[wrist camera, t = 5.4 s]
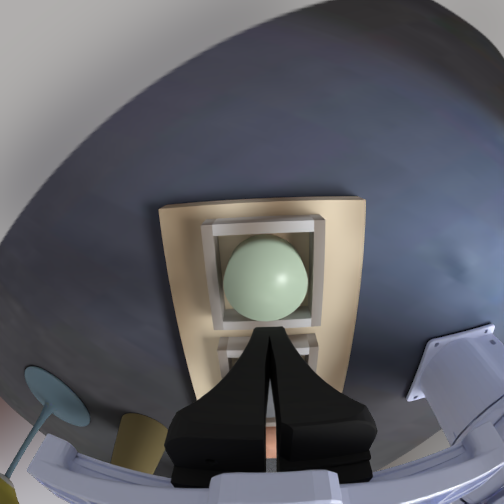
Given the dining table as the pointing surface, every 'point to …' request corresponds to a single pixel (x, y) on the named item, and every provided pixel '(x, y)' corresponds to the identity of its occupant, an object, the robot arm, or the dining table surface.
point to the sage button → (265, 278)
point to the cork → (139, 443)
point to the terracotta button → (271, 442)
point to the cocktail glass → (45, 417)
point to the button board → (214, 267)
